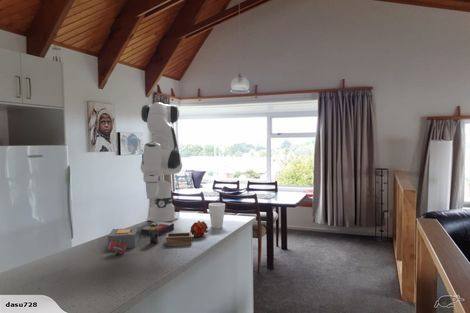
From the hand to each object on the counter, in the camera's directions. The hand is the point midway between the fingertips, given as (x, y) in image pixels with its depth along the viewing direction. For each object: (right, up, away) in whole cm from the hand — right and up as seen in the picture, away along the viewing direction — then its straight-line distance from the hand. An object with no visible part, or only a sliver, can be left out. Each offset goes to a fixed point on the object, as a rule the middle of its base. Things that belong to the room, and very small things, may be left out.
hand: (153, 205), depth 165 cm
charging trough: (+12, -18, +1) cm, 22 cm away
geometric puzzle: (-12, -20, -15) cm, 27 cm away
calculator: (-3, -18, +21) cm, 28 cm away
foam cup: (+29, -17, +31) cm, 46 cm away
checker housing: (-14, -19, -1) cm, 23 cm away
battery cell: (0, -18, +1) cm, 19 cm away
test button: (-14, -15, -1) cm, 21 cm away
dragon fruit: (+21, -18, +12) cm, 30 cm away
